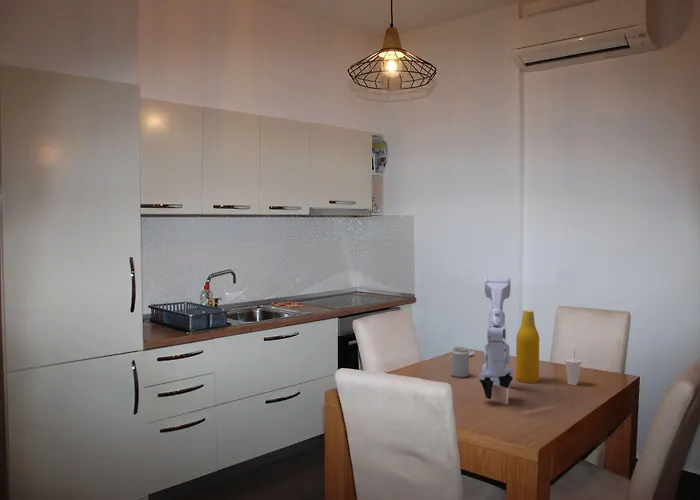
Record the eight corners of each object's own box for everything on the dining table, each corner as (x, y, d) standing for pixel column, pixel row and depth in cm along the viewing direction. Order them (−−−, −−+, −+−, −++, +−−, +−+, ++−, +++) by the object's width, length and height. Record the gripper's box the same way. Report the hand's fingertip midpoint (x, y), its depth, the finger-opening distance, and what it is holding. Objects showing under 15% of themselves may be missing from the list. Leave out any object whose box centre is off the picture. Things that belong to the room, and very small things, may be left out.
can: (456, 372, 252) (456, 345, 251) (472, 375, 247) (472, 347, 246) (447, 376, 246) (448, 348, 245) (463, 379, 241) (463, 351, 241)
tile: (486, 399, 213) (487, 383, 212) (490, 398, 214) (490, 382, 213) (504, 405, 205) (504, 389, 205) (508, 405, 206) (508, 388, 205)
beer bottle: (529, 376, 246) (530, 308, 244) (543, 382, 237) (544, 312, 235) (511, 378, 242) (512, 310, 241) (524, 384, 234) (525, 313, 232)
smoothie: (570, 386, 230) (571, 352, 229) (561, 382, 236) (561, 348, 236) (584, 385, 232) (585, 351, 231) (574, 381, 238) (575, 347, 237)
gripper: (488, 364, 202) (488, 402, 203) (519, 359, 209) (518, 396, 210) (475, 360, 208) (474, 397, 209) (505, 355, 215) (504, 391, 216)
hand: (495, 396), depth 210 cm, fingers open, 7 cm apart
